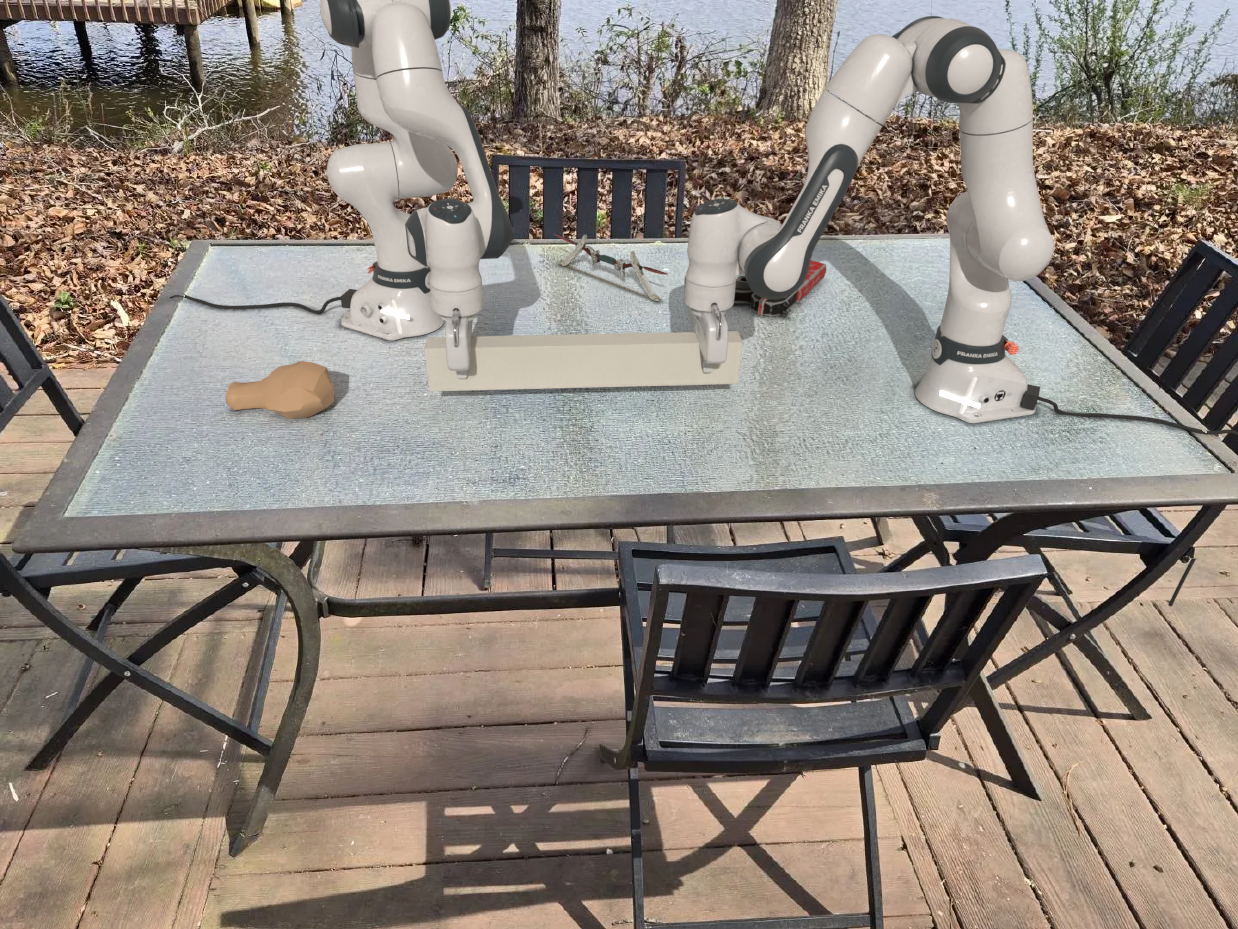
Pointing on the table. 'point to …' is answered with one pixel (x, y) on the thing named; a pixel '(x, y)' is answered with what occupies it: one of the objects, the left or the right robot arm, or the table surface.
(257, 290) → the table surface
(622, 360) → the beam
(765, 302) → the gun
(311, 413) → the squash
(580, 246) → the bow
